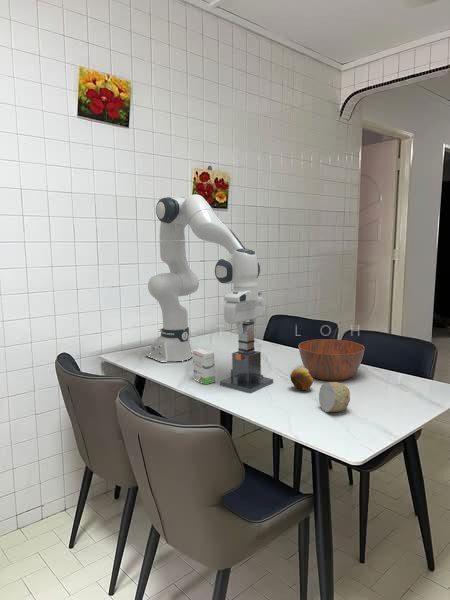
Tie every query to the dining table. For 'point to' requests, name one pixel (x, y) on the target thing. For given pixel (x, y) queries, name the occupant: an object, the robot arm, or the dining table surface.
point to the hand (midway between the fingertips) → (246, 332)
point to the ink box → (203, 366)
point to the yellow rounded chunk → (334, 397)
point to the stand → (246, 373)
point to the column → (247, 339)
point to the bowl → (331, 358)
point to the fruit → (301, 378)
